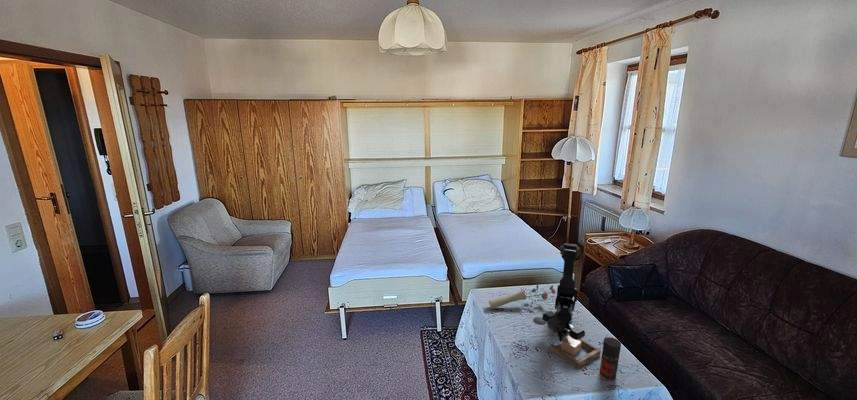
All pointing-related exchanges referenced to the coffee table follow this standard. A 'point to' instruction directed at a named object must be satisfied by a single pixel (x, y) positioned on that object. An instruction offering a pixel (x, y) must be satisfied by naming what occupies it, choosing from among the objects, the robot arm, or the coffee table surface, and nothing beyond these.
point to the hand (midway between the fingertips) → (561, 341)
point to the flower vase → (517, 298)
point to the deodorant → (610, 358)
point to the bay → (582, 361)
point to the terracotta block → (571, 345)
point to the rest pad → (539, 320)
